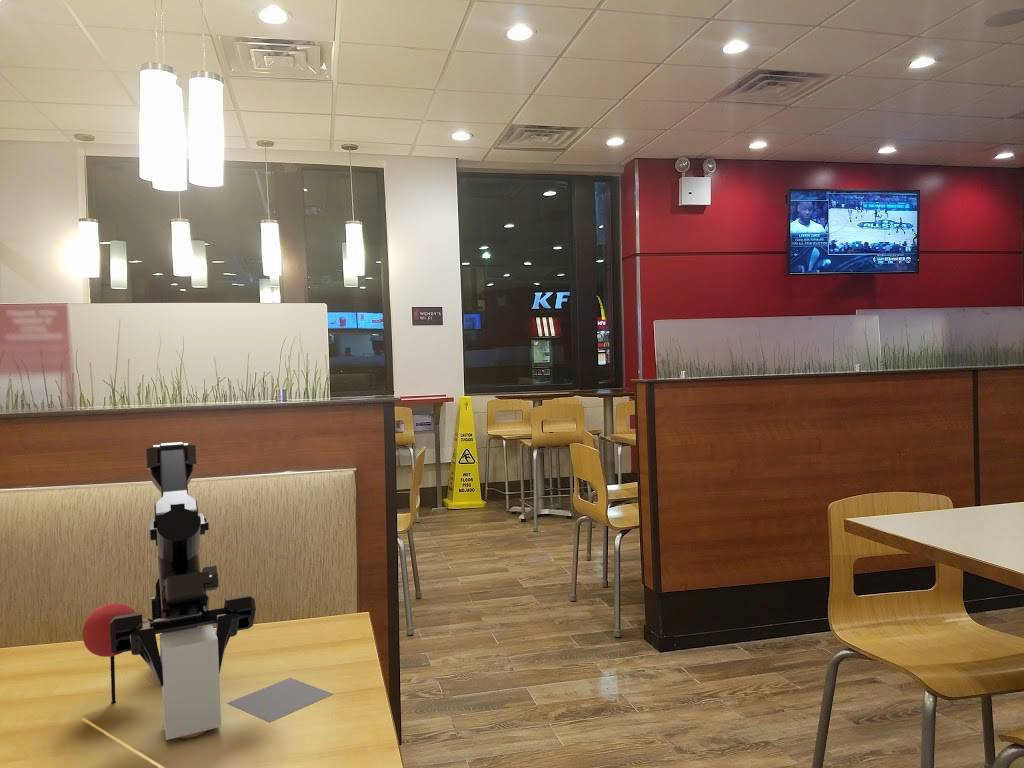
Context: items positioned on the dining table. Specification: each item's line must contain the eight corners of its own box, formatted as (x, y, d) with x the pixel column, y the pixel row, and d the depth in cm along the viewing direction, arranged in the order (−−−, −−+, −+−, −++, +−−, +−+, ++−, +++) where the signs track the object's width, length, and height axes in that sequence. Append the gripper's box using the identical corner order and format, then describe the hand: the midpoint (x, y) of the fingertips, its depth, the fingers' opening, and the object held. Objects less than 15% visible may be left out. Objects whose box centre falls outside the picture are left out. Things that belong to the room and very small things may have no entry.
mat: (227, 705, 109) (227, 702, 109) (290, 680, 117) (290, 677, 117) (269, 725, 102) (269, 722, 102) (333, 696, 111) (333, 693, 111)
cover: (163, 719, 102) (159, 634, 102) (215, 707, 105) (211, 624, 105) (166, 740, 96) (162, 649, 96) (221, 726, 99) (217, 638, 99)
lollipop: (84, 718, 106) (79, 616, 106) (87, 698, 113) (83, 602, 113) (142, 705, 110) (138, 606, 110) (142, 687, 117) (138, 594, 117)
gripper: (107, 558, 99) (110, 666, 90) (251, 539, 108) (267, 635, 99) (110, 601, 106) (113, 705, 97) (244, 580, 115) (259, 673, 106)
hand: (190, 678), depth 99 cm, fingers closed on cover, 7 cm apart
